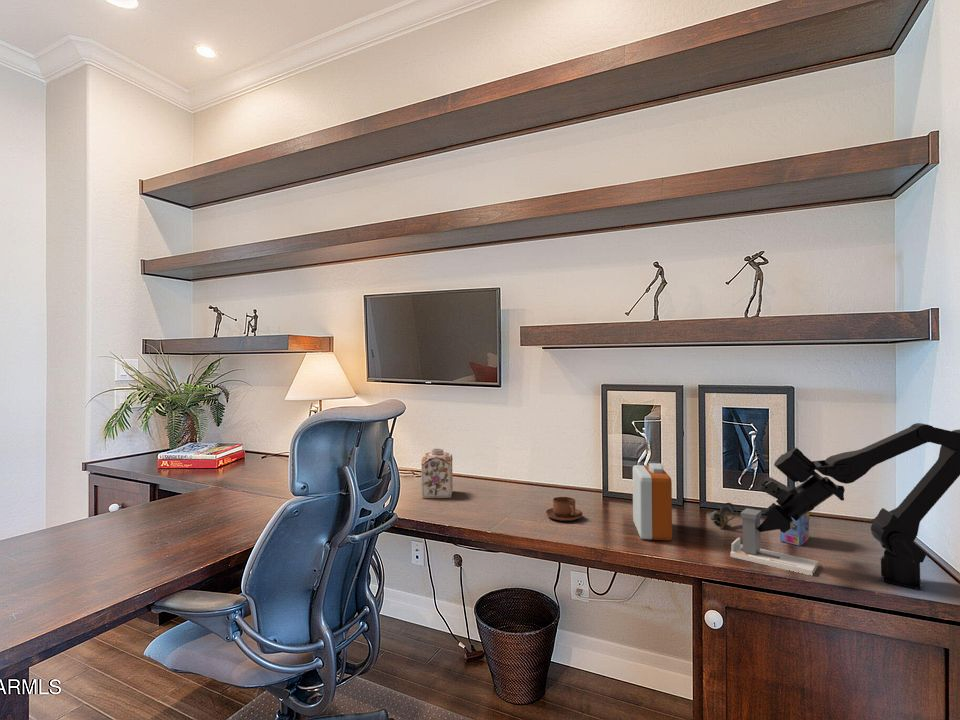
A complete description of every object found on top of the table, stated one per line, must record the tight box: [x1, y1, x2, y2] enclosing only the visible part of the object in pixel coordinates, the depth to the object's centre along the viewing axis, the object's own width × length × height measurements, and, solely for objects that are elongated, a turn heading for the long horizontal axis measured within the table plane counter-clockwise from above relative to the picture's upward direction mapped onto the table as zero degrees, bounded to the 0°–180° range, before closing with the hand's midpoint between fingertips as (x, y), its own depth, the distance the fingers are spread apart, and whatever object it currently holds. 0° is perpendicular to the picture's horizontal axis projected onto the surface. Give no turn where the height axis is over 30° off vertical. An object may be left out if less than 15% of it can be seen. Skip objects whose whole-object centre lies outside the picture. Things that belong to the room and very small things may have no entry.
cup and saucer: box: [545, 496, 584, 522], centre depth 164 cm, size 12×12×6 cm
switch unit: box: [730, 537, 819, 577], centre depth 127 cm, size 18×8×3 cm, turn 47°
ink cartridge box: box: [779, 511, 810, 547], centre depth 142 cm, size 10×6×14 cm, turn 135°
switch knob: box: [740, 507, 763, 555], centre depth 130 cm, size 4×6×10 cm, turn 137°
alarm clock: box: [632, 462, 673, 541], centre depth 151 cm, size 18×9×21 cm, turn 170°
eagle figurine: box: [709, 502, 736, 530], centre depth 156 cm, size 8×8×10 cm
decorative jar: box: [420, 447, 454, 499], centre depth 195 cm, size 12×12×18 cm
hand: (758, 530), depth 129 cm, fingers closed, pressing on switch knob
